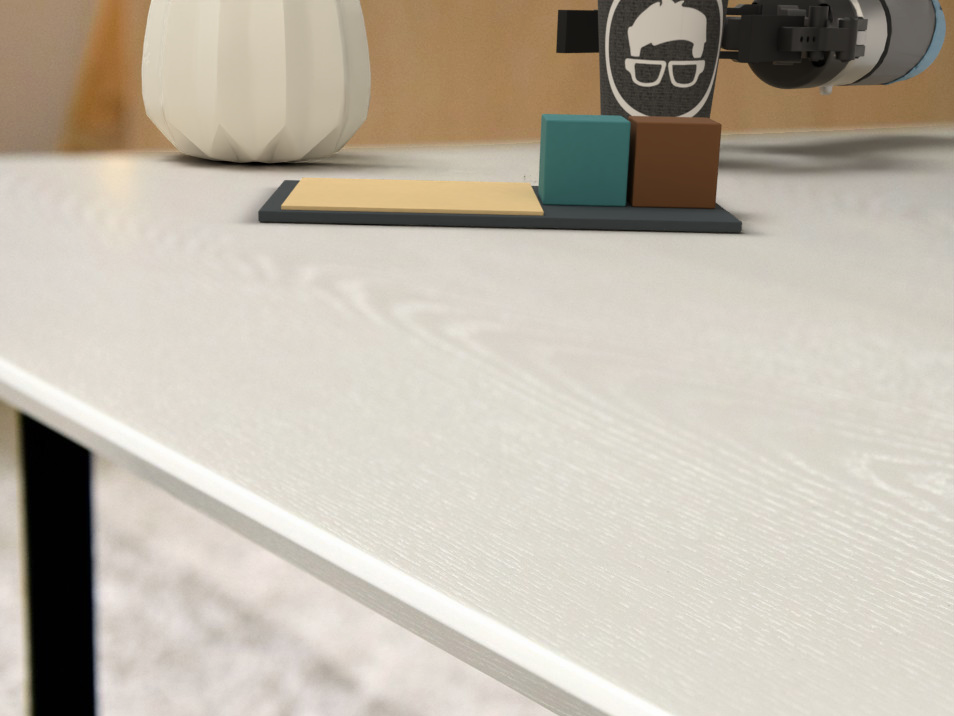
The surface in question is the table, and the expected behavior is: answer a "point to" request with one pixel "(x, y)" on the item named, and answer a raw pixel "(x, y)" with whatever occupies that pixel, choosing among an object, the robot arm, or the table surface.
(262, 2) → the vase
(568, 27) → the robot arm
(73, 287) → the table surface
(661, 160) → the word mat
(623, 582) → the table surface
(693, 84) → the coffee cup
